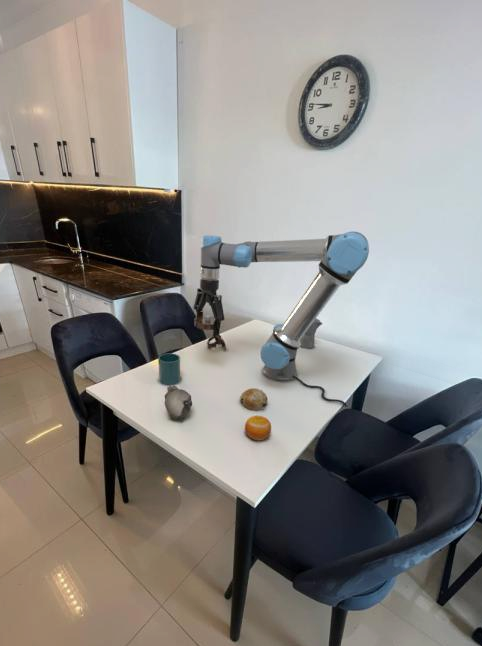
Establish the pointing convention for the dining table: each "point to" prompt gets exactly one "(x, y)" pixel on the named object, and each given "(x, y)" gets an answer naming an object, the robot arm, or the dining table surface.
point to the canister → (169, 369)
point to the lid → (205, 322)
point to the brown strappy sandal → (218, 342)
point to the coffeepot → (310, 335)
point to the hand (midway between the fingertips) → (207, 330)
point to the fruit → (258, 427)
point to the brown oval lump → (254, 399)
